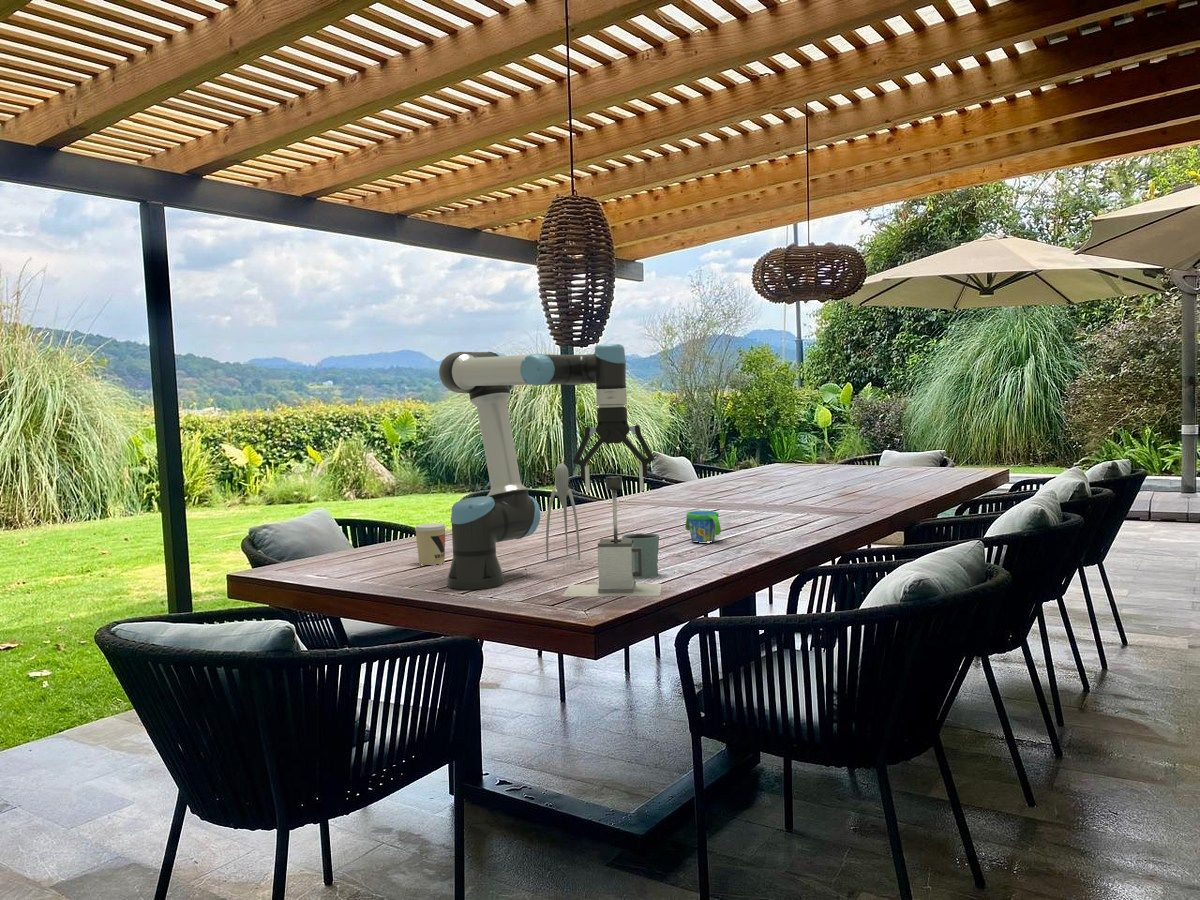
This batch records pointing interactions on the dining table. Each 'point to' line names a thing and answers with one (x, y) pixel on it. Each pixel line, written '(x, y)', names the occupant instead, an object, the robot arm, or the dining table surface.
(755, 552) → the dining table surface
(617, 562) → the block
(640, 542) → the green mug
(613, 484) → the plunger
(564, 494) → the juicer
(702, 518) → the snack cup
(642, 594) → the plate
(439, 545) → the coffee cup
